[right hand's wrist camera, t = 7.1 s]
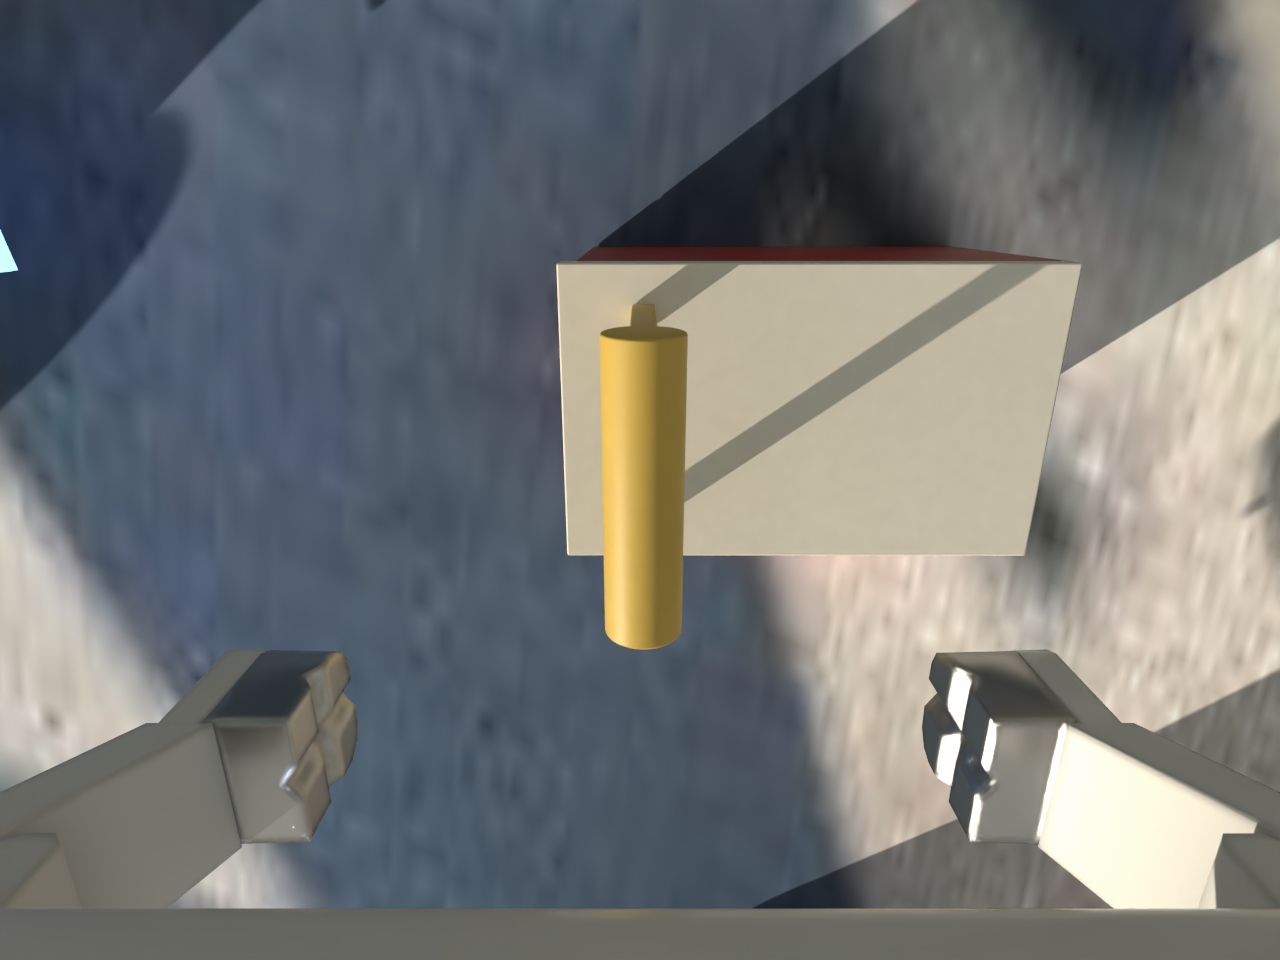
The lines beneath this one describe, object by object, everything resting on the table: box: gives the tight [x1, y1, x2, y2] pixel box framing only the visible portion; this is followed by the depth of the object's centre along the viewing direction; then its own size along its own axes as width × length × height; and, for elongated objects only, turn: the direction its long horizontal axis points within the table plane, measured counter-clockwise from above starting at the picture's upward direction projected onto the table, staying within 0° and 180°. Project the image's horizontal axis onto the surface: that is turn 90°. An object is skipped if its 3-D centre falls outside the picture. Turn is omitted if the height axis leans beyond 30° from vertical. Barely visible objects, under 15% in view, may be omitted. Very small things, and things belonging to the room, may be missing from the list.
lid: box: [557, 261, 1082, 649], centre depth 20 cm, size 16×10×8 cm, turn 90°
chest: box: [577, 247, 1061, 261], centre depth 29 cm, size 15×10×9 cm, turn 90°
